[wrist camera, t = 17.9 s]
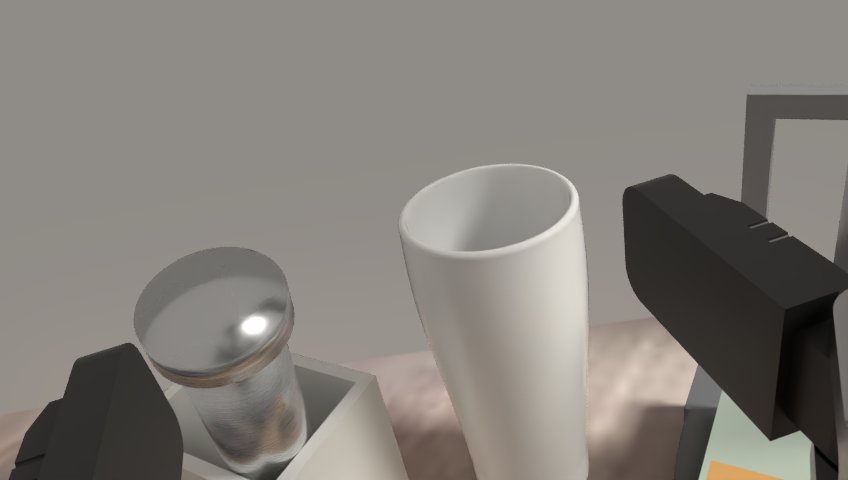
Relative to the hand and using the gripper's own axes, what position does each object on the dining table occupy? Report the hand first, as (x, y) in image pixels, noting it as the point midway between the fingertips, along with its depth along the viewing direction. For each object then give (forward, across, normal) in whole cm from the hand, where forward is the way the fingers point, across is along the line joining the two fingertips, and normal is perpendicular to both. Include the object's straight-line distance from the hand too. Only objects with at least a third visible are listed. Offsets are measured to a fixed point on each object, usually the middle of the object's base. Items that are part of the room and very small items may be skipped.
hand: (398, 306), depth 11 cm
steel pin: (+13, +7, +19) cm, 24 cm away
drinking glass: (+12, -4, +21) cm, 24 cm away
